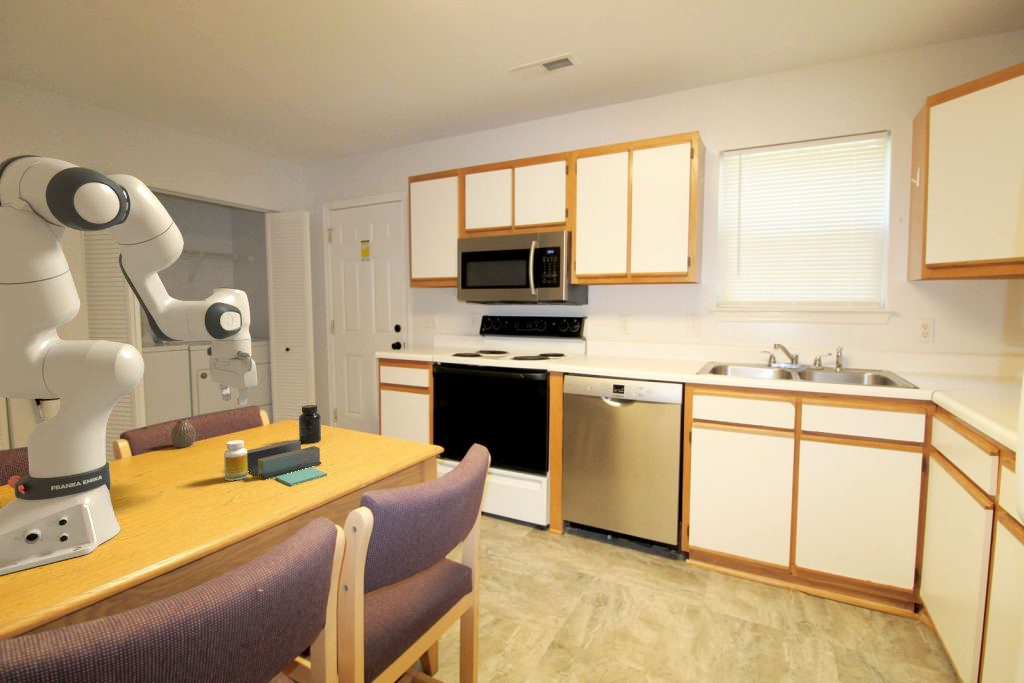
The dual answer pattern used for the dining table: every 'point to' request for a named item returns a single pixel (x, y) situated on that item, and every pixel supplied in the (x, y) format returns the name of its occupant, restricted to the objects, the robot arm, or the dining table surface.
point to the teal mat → (300, 476)
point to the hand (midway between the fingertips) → (234, 402)
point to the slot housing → (281, 459)
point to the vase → (183, 434)
